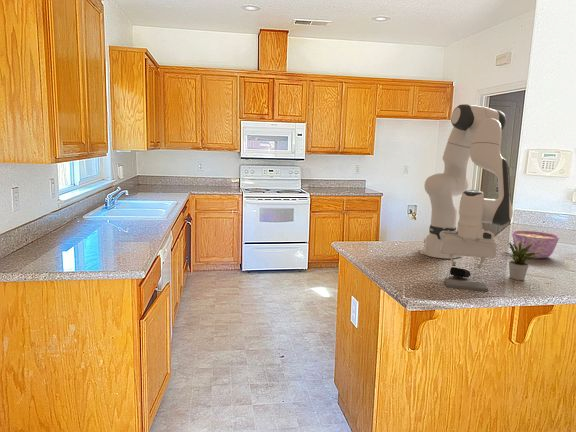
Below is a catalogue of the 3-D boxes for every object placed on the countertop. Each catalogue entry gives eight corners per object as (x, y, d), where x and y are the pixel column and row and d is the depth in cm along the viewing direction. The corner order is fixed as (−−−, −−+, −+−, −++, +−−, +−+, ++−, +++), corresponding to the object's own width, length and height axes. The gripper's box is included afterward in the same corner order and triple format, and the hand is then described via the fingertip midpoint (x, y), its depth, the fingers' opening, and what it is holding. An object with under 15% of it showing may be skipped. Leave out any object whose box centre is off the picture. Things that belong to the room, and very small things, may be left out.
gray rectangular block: (444, 281, 164) (445, 278, 164) (484, 285, 160) (484, 282, 160) (446, 287, 157) (447, 284, 156) (488, 291, 153) (488, 288, 153)
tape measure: (464, 278, 163) (465, 268, 164) (446, 275, 168) (447, 266, 168) (470, 279, 168) (471, 270, 169) (452, 276, 173) (454, 267, 173)
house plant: (495, 280, 167) (500, 239, 165) (492, 271, 180) (496, 233, 178) (537, 285, 163) (542, 243, 160) (530, 275, 175) (535, 236, 173)
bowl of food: (509, 258, 204) (511, 235, 203) (509, 251, 222) (512, 229, 220) (558, 265, 195) (561, 240, 193) (554, 256, 213) (557, 233, 211)
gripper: (441, 231, 165) (438, 266, 167) (499, 235, 160) (495, 271, 162) (440, 229, 171) (437, 262, 173) (495, 232, 166) (492, 267, 168)
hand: (466, 266), depth 168 cm, fingers open, 8 cm apart
